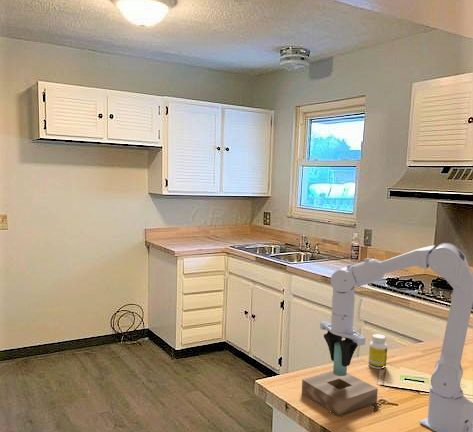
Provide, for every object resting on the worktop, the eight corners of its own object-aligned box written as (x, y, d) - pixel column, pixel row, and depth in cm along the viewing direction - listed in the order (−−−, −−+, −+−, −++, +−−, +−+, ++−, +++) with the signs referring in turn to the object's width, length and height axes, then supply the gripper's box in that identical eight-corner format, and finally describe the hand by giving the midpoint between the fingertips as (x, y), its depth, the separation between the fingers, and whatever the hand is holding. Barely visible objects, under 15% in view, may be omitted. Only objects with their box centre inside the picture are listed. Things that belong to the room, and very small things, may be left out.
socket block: (376, 402, 121) (377, 388, 121) (338, 417, 113) (339, 401, 113) (338, 382, 133) (339, 368, 132) (301, 393, 125) (302, 379, 125)
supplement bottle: (387, 370, 141) (388, 339, 141) (369, 368, 143) (370, 338, 142) (385, 363, 147) (386, 334, 146) (367, 361, 148) (369, 332, 147)
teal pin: (349, 374, 122) (350, 345, 121) (339, 377, 120) (341, 347, 119) (339, 369, 125) (341, 341, 124) (330, 372, 123) (331, 343, 122)
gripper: (374, 318, 117) (371, 369, 118) (334, 304, 129) (331, 350, 130) (355, 322, 113) (352, 375, 114) (315, 307, 125) (313, 355, 127)
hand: (340, 362), depth 122 cm, fingers closed on teal pin, 3 cm apart
